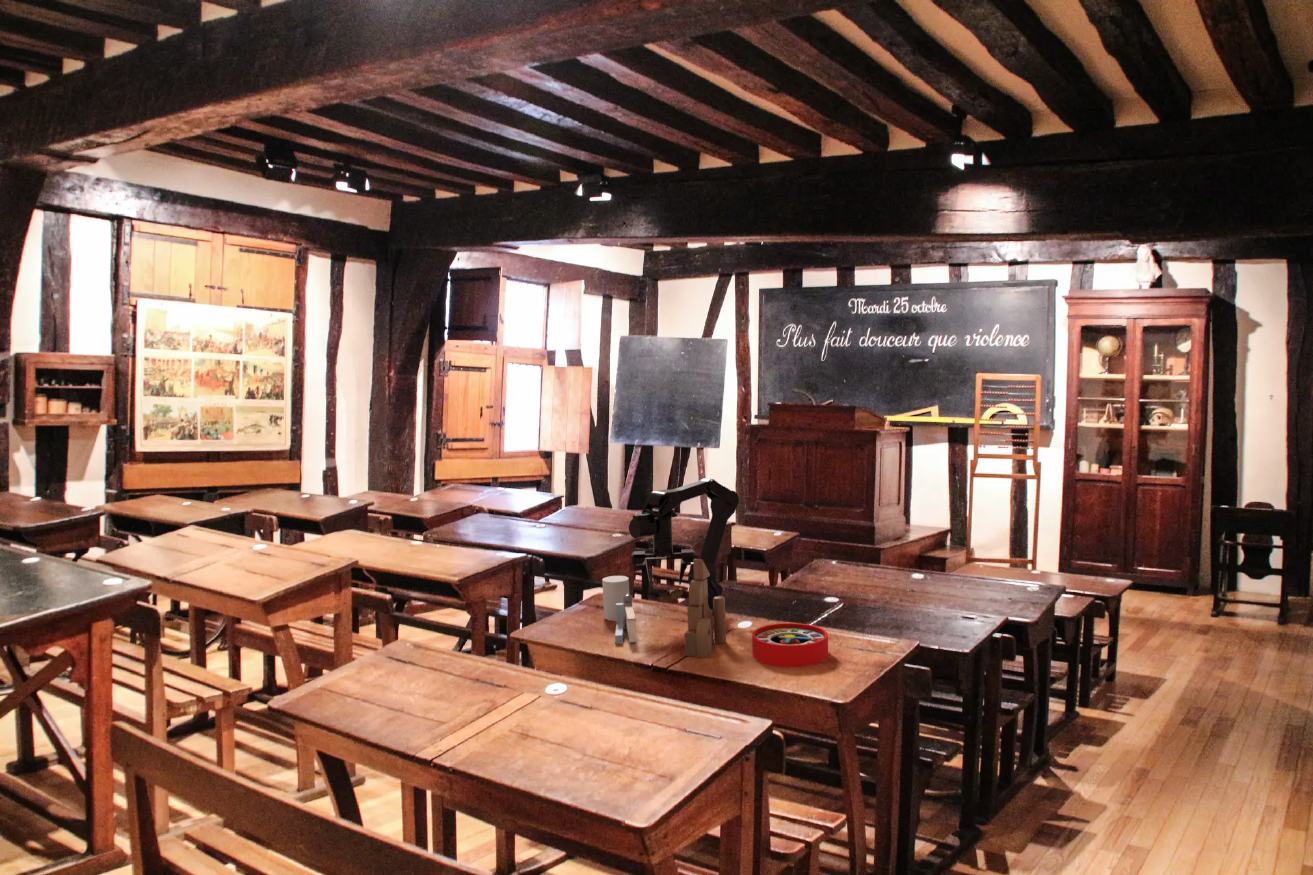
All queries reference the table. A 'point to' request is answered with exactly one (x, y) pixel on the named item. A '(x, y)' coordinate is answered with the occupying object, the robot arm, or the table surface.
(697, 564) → the wooden toy
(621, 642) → the strip
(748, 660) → the table surface
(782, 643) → the toy clock
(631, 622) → the beige flat block
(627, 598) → the grey metallic round-topped post
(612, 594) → the off-white flat-topped cylinder
